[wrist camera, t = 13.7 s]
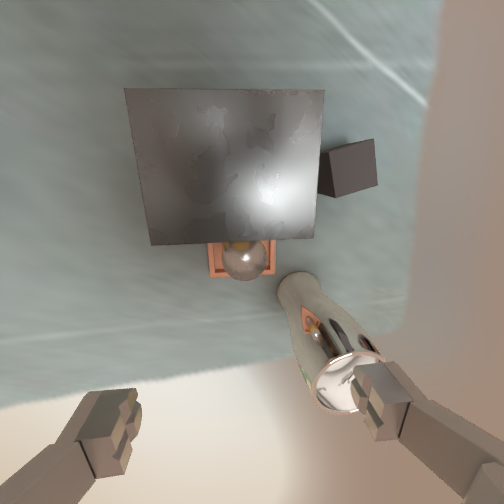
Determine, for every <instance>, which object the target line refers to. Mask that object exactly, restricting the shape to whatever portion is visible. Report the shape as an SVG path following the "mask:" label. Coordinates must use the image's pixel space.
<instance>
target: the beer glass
mask: <svg viewBox="0 0 504 504" xmlns="http://www.w3.org/2000/svg"><path fill="white" fill-rule="evenodd" d="M277 297H278V300H279V302H280V304H281V305H282V307H283V308H284V309H285V310H286V312H287V315H288V322H289V330H290V337H291V343H292V348H293V351H294V354H295V357H296V360H297V363H298V365H299V368H300V370H301V372H302V375H303V377H304V379H305V381H306V383H307V385H308V387H309V390H310V392H311V394H312V397H313V400H314V401H315V403H316V404H317V406H319V407H320V408H321V409H322V410H324V411H326V412H328V413H332V414H339V415H346V414H353V413H357V412H360V411H359V410H358V409H357V407H356V405H355V403H354V401H353V398H352V395H351V389H350V387H351V381H352V380H353V379H354V378H355V376H354V374H353V368H354V367H355V366H356V365H363V364H372V363H383V362H387V360H386V359H385V358H384V357H383V355H382V354H381V353H380V351H379V350H378V348H377V347H376V345H375V344H374V342H373V341H372V339H371V338H370V337H369V335H368V334H367V333H366V332H365V330H364V329H363V328H362V326H361V325H360V324H359V323H358V322H357V321H356V320H355V319H354V318H353V317H352V316H351V315H350V314H349V313H348V312H347V311H346V310H345V309H343V308H342V307H341V306H340V305H338V304H337V303H336V302H334V301H333V300H332V299H330V298H329V297H328V296H327V295H325V293H324V292H323V291H322V288H321V285H320V283H319V281H318V280H317V278H316V277H315V276H313V275H312V274H310V273H307V272H295V273H292V274H290V275H288V276H286V277H285V278H284V279H283V280H282V281H281V283H280V284H279V287H278V290H277Z"/></svg>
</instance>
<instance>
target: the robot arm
mask: <svg viewBox="0 0 504 504" xmlns="http://www.w3.org/2000/svg"><path fill="white" fill-rule="evenodd" d="M353 374H354V376H355V378H354V379H353V380H352V381H351V387H350V389H351V395H352V398H353V401H354V403H355V405H356V407H357V409H358V410H359V411H360V412H362V413H363V414H364V415H365V418H364V422H365V424H366V426H367V428H368V430H369V431H370V433H371V435H372V437H373V439H374V441H375V442H376V441H387V440H397V439H399V442H400V443H402V444H403V445H404V446H405V447H406V448H407V449H408V450H409V451H410V452H412V453H413V454H414V455H415V456H416V457H417V458H418V459H419V460H420V461H422V462H423V463H424V464H425V465H426V466H427V467H428V468H429V469H431V470H432V471H433V472H434V473H435V474H436V475H437V476H438V477H439V478H441V479H442V480H443V481H444V482H445V483H446V484H447V485H448V486H449V487H451V488H452V489H453V490H454V491H455V492H456V493H457V494H459V496H461V497H462V498H463V501H462V503H461V504H504V442H503V441H501V440H500V439H498V438H497V437H495V436H493V435H491V434H490V433H488V432H486V431H485V430H483V429H481V428H479V427H478V426H476V425H475V424H473V423H471V422H469V421H468V420H466V419H464V418H463V417H461V416H459V415H458V414H456V413H454V412H452V411H451V410H449V409H447V408H445V407H444V406H442V405H441V404H439V403H437V402H436V401H434V400H428V399H427V398H426V396H425V395H424V394H423V393H422V392H421V391H420V390H419V388H418V387H417V386H416V385H415V384H414V383H413V382H412V380H411V379H410V378H409V377H408V376H407V375H406V373H405V372H404V371H403V370H402V369H401V368H400V366H399V365H398V364H397V363H395V362H394V361H393V362H383V363H372V364H363V365H356V366H355V367H354V368H353ZM137 396H138V393H137V390H136V388H129V389H116V390H104V391H92V392H89V393H87V394H86V395H85V396H84V397H83V399H82V401H81V402H80V404H79V406H78V407H77V409H76V410H75V412H74V414H73V415H72V417H71V418H70V420H69V421H68V423H67V425H66V426H65V428H64V430H63V431H62V433H61V434H60V436H59V437H58V439H57V441H56V442H55V444H51V445H49V446H47V447H46V448H45V449H44V450H42V451H41V452H40V453H39V454H38V455H36V456H35V457H34V458H33V459H32V460H30V461H29V462H28V463H27V464H26V465H24V466H23V467H22V468H21V469H20V470H19V471H17V472H16V473H15V474H14V475H12V476H11V477H10V478H9V479H8V480H6V481H5V482H4V483H3V484H2V485H1V486H0V504H78V502H79V501H80V500H81V499H82V497H83V496H84V495H85V494H86V492H87V491H88V490H89V489H90V487H91V486H92V485H93V484H94V482H95V479H99V478H105V477H111V476H117V475H124V474H125V471H126V468H127V465H128V462H129V458H130V456H131V453H132V447H131V444H130V443H131V442H132V440H133V439H134V438H135V437H136V436H137V435H138V432H139V429H140V425H141V419H142V408H141V404H140V403H138V402H137V401H136V399H137Z"/></svg>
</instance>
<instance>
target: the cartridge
mask: <svg viewBox="0 0 504 504" xmlns="http://www.w3.org/2000/svg"><path fill="white" fill-rule="evenodd" d="M221 259H222V264H223V267H224V269H225V271H226V272H227V274H228V275H229V276H231V277H232V278H234V279H236V280H240V281H248V280H252V279H255V278H256V277H258V276H259V275H260V274H262V272H263V271H264V270H265V268H266V265H267V251H266V248H265V246H264V244H263V242H262V241H242V242H223V248H222V255H221Z"/></svg>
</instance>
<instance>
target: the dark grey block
mask: <svg viewBox="0 0 504 504" xmlns="http://www.w3.org/2000/svg"><path fill="white" fill-rule="evenodd" d="M124 92H125V98H126V103H127V109H128V115H129V121H130V126H131V132H132V138H133V144H134V149H135V155H136V161H137V167H138V172H139V178H140V184H141V190H142V195H143V201H144V207H145V212H146V218H147V224H148V230H149V235H150V241H151V246H156V245H178V244H199V243H221V242H242V241H264V240H285V239H307V238H314V225H315V211H316V198H317V184H318V171H319V157H320V143H321V130H322V116H323V103H324V90H247V89H140V88H124Z"/></svg>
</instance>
